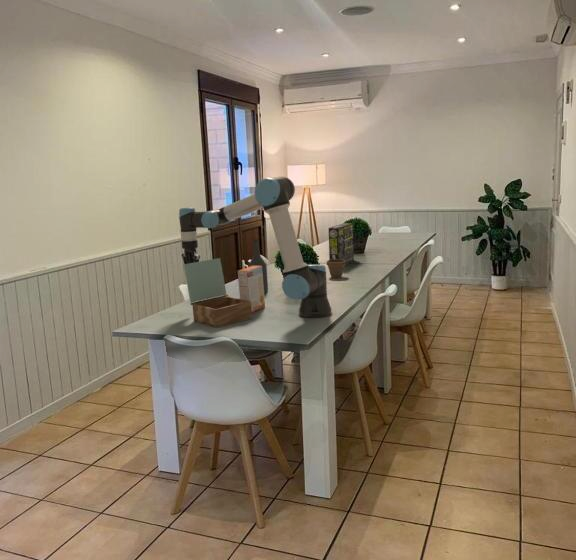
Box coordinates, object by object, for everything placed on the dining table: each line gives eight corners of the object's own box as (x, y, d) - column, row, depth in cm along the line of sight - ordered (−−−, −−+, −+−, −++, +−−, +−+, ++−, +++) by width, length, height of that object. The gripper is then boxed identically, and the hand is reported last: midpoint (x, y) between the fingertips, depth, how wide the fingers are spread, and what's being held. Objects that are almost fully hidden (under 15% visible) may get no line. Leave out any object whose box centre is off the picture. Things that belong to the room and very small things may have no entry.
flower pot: (350, 276, 355) (349, 260, 353) (337, 279, 348) (336, 262, 346) (336, 274, 364) (335, 258, 362) (323, 277, 356) (322, 261, 354)
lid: (220, 258, 280) (218, 258, 280) (184, 264, 267) (183, 264, 268) (226, 294, 281) (225, 294, 282) (191, 302, 268) (190, 302, 269)
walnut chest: (252, 318, 269) (251, 299, 267) (215, 327, 255) (214, 308, 254) (228, 311, 283) (226, 294, 281) (192, 320, 270) (190, 302, 268)
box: (344, 260, 417) (343, 222, 412) (354, 260, 414) (353, 222, 409) (329, 268, 387) (327, 228, 382) (340, 268, 384) (338, 228, 379)
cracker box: (255, 306, 291) (252, 265, 287) (265, 307, 289) (262, 265, 285) (240, 313, 279) (236, 270, 275) (250, 314, 276) (247, 270, 272)
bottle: (251, 290, 330) (247, 237, 324) (268, 289, 329) (265, 237, 323) (249, 294, 319) (245, 240, 314) (267, 293, 319) (263, 239, 313)
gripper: (203, 239, 277) (207, 288, 281) (188, 238, 286) (192, 285, 291) (190, 241, 272) (194, 291, 276) (175, 240, 281) (179, 288, 286)
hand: (193, 288), depth 284 cm, fingers closed
